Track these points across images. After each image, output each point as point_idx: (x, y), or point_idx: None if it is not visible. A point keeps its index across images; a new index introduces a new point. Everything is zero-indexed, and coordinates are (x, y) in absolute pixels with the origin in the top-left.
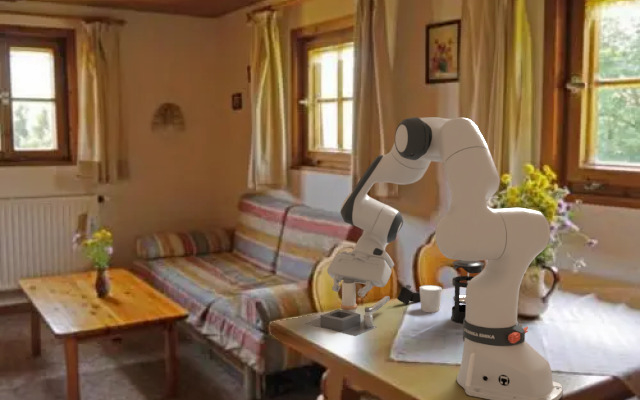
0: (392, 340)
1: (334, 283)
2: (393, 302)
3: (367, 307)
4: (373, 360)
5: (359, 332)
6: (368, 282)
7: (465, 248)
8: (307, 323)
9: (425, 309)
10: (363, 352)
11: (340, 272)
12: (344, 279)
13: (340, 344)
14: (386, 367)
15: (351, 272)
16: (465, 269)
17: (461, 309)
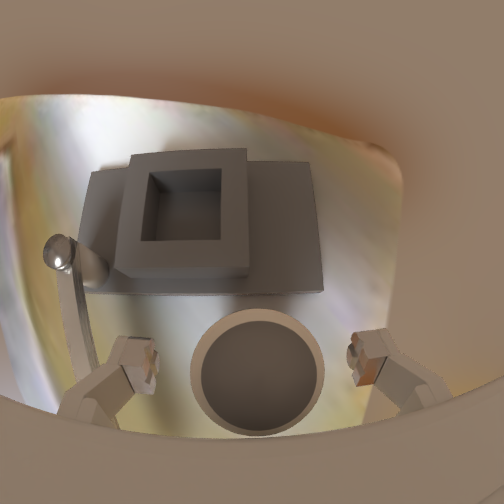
0: (19, 242)
1: (398, 354)
2: None
3: (62, 258)
4: (31, 123)
5: (93, 203)
6: (70, 408)
7: None
8: (301, 166)
9: None
10: (54, 134)
11: (427, 422)
12: (313, 368)
13: (116, 129)
14: (11, 121)
15: (300, 474)
16: None
17: None
